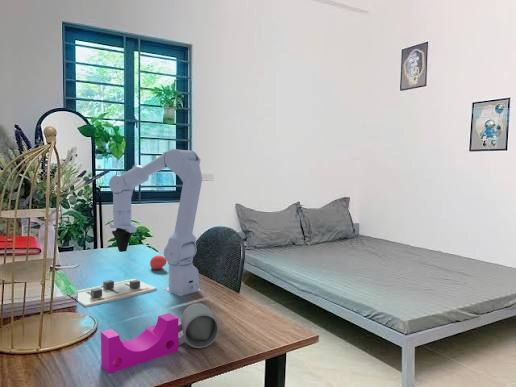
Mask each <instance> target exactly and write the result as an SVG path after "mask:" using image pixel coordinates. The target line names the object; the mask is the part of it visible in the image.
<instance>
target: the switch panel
mask: <svg viewBox="0 0 516 387" xmlns="http://www.w3.org/2000/svg"><path fill="white" fill-rule="evenodd" d="M133 280H138V279H136V278H130V279H125V280H122V281H116V282H115V281H114V288H111V289H104V288H103V284H101V285H97V286H93V287H89V288H88V287H87V288H83V289H78V290H76V291H77V292H78V302H77V303H79V304H80V305H82V306H83V307H84V308H89V307H93V306H96V305H102V304H104V303H110V302H115V301H118V300H123V299H127V298H130V297H135V296H139V295H143V294H148V293H150V292H155V291H158V288H157V287H156V286H153V285H150V284H148V283H146V282H144V281H142V280H139V281H140V288H135V289H132V288H130V281H133ZM96 288H100V289H102V296H101V297H97V298H93V297H91V289H96Z"/></svg>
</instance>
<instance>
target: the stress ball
mask: <svg viewBox="0 0 516 387" xmlns="http://www.w3.org/2000/svg"><path fill="white" fill-rule="evenodd" d="M166 264H167V261H166V259H165V257H164V255H163V256H162V255H155V256H153V257H152V258H151V259H150V261H149V266H150V268H151V269H152V270H160V269H162V268H163V267H165V266H166Z"/></svg>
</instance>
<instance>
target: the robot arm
mask: <svg viewBox="0 0 516 387" xmlns="http://www.w3.org/2000/svg"><path fill="white" fill-rule="evenodd" d="M200 164H201V158H200V157H199V156H198V154H197V153H196V152H195V151H194V150H191V149H187V150H185V149H176V148H172V149H171V148H170V149H169V150H168V151H164V152H162V154H161V155H159V156H158V157H157V158H155V159H153V160H152V161H150V162H149V163H147V164H145V165H139V164H135V165H134V164H133V165H132V168H131V169H129V170H128V171H126V170H125V171H123V172H122V174H120V175H119V174H114V175H113V176H111V177H110V179H109V181H108V186H109V189H110V191H111V192H112V195H113V196H112V199H113V200H112V201H113V202H112V204H113V206H112V208H113V210H112V212H113V213H112V214H113V215H112V216H113V218H112V221H110V222H109V228H110V229H112V228H113V229H115V230H112V231H111V234H112V235H113V237H114V239H115V242H116V244H117V245H116V246H117V248H118V252H120V253H123V252H124V253H125V252H127V251H128V250H127V249H128V246H129V242H130V240H131V237H132V236H133V234H135V233H137V226H136V225H135V223H134V222H132V197H133V192H134V190H135V188H136V187H138V186H140V185H142V184H143V183H146V182H147V181H149V177H150V176H151V175H153V174H155V173H157V172H159V171H162V170H165V169H166V168H167V169H169V170H170V171H171V172H173V173H174V174H175V176H176V175H177V177H179V179H180V181H181V182H182V188H181V191H180V192H181V193H180V200H179V203H178V209H177V216H176V221H175V226H174V231H173V233H172V234H171V235H170V237H169V238H168V242H167V244H166V245H165V247H164V249H163V257H164V258H165V259H166V263H167V265H168V286H166V287H163V288H162V289H163V290H164V291H167V292H170V293H171V294H174V295H176V296H179V297H182V296H185V295H190V294H192V293H196V292H200V291H201V289H200V288H199V287H200V284H199V280H200V278H199V277H200V276H199V275H200V273H199V269H198V268H197V267H196V266H195V265H194V263H193V261H194V257H195V256H196V254H197V244H196V240H197V237H196V236H195V235H194V234H193V232H194V226H195V221H196V217H197V216H196V215H197V209H198V203H199V200H200V194H201V188H202V182H203V176H202V171H201V166H200Z"/></svg>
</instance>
